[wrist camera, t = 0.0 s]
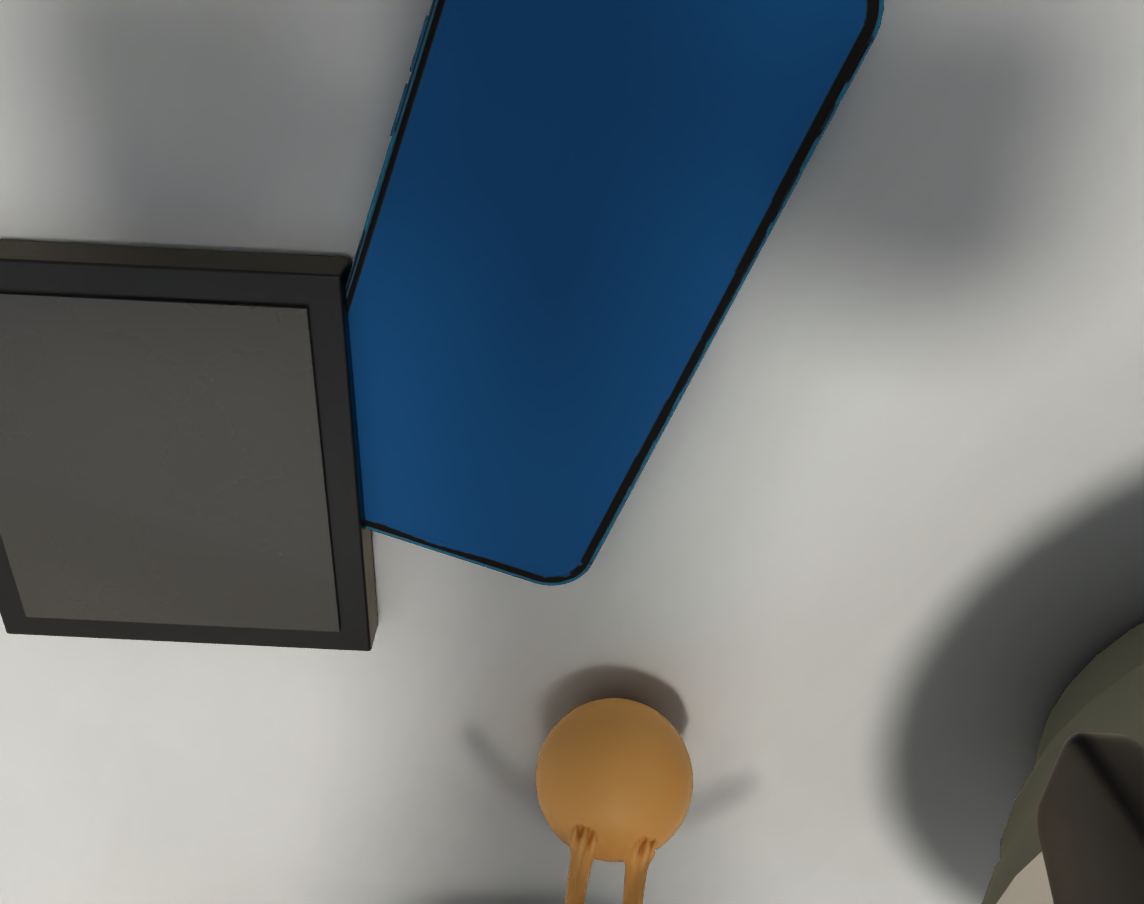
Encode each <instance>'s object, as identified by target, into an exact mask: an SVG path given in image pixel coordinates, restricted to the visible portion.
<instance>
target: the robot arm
mask: <svg viewBox="0 0 1144 904" xmlns="http://www.w3.org/2000/svg"><path fill="white" fill-rule="evenodd" d="M1037 829H1038V836H1039V840H1040V845H1041V849H1042V854H1043V858H1044V863H1045V867H1046V872H1047V876H1048V881H1049V885H1050V890H1051V894H1052V898H1053V903H1054V904H1144V746H1143V745H1142V744H1140V743H1139V742H1138V741H1136V740H1135V739H1133V738H1131V737H1129V736H1126V735H1123V734H1113V733H1092V732H1078V733H1074V734H1072V735H1071V736H1070V737H1069V738H1067V739H1066V741H1065V743H1064V744H1063V746H1062V749H1061V751H1060V753H1059V756H1058V758H1057V760H1056V763H1055V765H1054V767H1053V770H1052V772H1051V775H1050V777H1049V779H1048V782H1047V784H1046V786H1045V789H1044V791H1043V793H1042V796H1041V798H1040V801H1039V805H1038V810H1037Z"/></svg>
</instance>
